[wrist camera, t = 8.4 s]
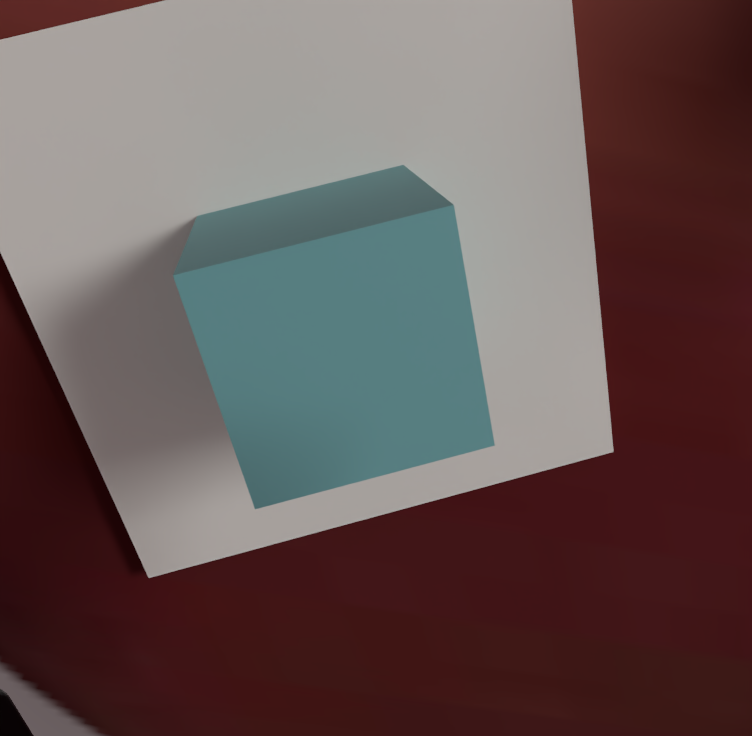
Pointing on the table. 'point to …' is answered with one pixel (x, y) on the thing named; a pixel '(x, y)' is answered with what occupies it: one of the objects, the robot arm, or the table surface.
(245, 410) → the cube
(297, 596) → the table surface
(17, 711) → the robot arm
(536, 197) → the tile
